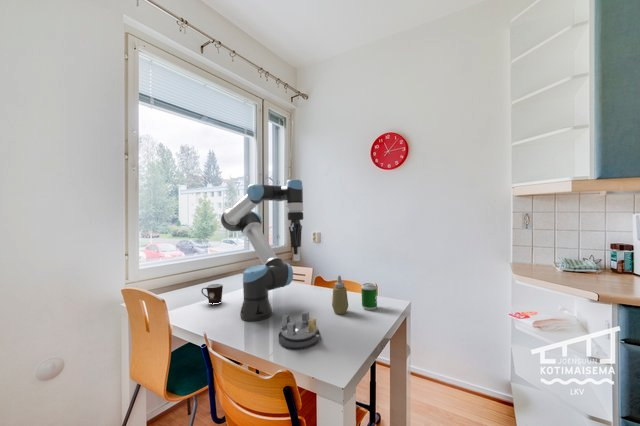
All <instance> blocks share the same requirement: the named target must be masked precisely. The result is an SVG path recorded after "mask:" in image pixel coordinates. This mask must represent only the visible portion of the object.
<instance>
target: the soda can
mask: <svg viewBox="0 0 640 426" xmlns="http://www.w3.org/2000/svg"><path fill="white" fill-rule="evenodd" d="M360 287H361V307H362V308H363V310H366V311H375V310H376V309H377V307H378V293H377V291H378V290H377V286H376V284H374V283H372V282H371V283H370V282H366V283H363V284H362V285H361V286H360Z"/></svg>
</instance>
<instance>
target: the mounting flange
mask: <svg viewBox="0 0 640 426" xmlns="http://www.w3.org/2000/svg"><path fill="white" fill-rule="evenodd" d="M320 341H321V333H320V330H319V329H318V328H317V334H316V335H315V336H314V337H313V338H311V339H309V340H306V341H300V342H293V341H288V340H286V339H284V338H283V337H282V330H281V331H280V332H279V333H278V343H279V345H280V346H281V347H282V348H284V347H285V348H284V349H287V350H292V351H293V350H295V351H298V350H299V351H300V350H305V349H306V350H307V349H309V348H312V347H314V346H316V345H317V344H318V343H319V342H320Z"/></svg>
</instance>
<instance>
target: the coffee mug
mask: <svg viewBox="0 0 640 426" xmlns="http://www.w3.org/2000/svg"><path fill="white" fill-rule="evenodd" d="M223 288H224V285H223V283H211V284H208V285H206V287H202V288H201V294H202V295H203V296H204V297H206V298H207V300H208V304H209V303H212V304H213V303H219V302H221V303H222V299H223ZM203 290H206V292H207V295H206V294H205V293H204V292H203Z"/></svg>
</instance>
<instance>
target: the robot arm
mask: <svg viewBox="0 0 640 426" xmlns="http://www.w3.org/2000/svg"><path fill="white" fill-rule="evenodd" d="M302 181H303V180H301V179H288V180H287V181H286V185H272V184H270V185H269V184H259V183H252V184H249V185H248V187H247V189H246V195H244V196H243V197H242V198H241V199H240V200H239V201H237V202H236V204H234V205H233V206H232V207H231V208H228V209H226V210H225V211H223V213H222V214H221V216H220V217H221V218H220V223H221V226H223V228H224V229H225V230H227V231H230V232H241V233H242V236H244V237H247V239H248V241H249V243H250V244H251V246H252V247H253V250H254V252H255V254H256V255H257V257H258V259H259V260H260V262H261V264H258V265H253V266H250V267H248V268H246V269H244V271H243V273H242V286H243V288H242V289H243V292H242V293H243V302H242V304H241V308H240V312H239V315H240V317H241V318H240V319H241V320H243V321H247V322H257V321H261V320H266V319H267V318H270V317H271V316H272V315H273V307H272V306H271V303H270V300H269V299H270V298H269V291H272V290H277V289H281V288H285V287H287V286H289V285H290V284H291V283H292V281H293V279H294V270H293V268H292V265H291V264H290V263H287V262H285V263H284V261H283V259H282V258H281V257H277V255H276V253H275V251H274V250H273V248H272V246H271V245H270V243H269V241H268V240H267V238H266V236H265V235H264V233H263V231H262V225H263V221H262V217H261V215H260V213H258V212H257V211H252V210H254V208H256V207H257V206H258V205H260V204H262V202H264V201H274V202H282V201H283V202H284V201H287V202H286V203H287V204H286V208H287V220H288V221H290V226H289V227H288V230H289V236H290V237H289V238H290V244H291V247H290V248H292V253H293V254H292V255H293V262H297V261H298V262H299V261H300V258H301V256H300V253H301V252H300V248H301V247H302V229H303V226H302V224H301V220H302V221H303V220H304V212H303V211H304V200H303V197H304V196H303V194H304V193H303V182H302Z"/></svg>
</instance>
